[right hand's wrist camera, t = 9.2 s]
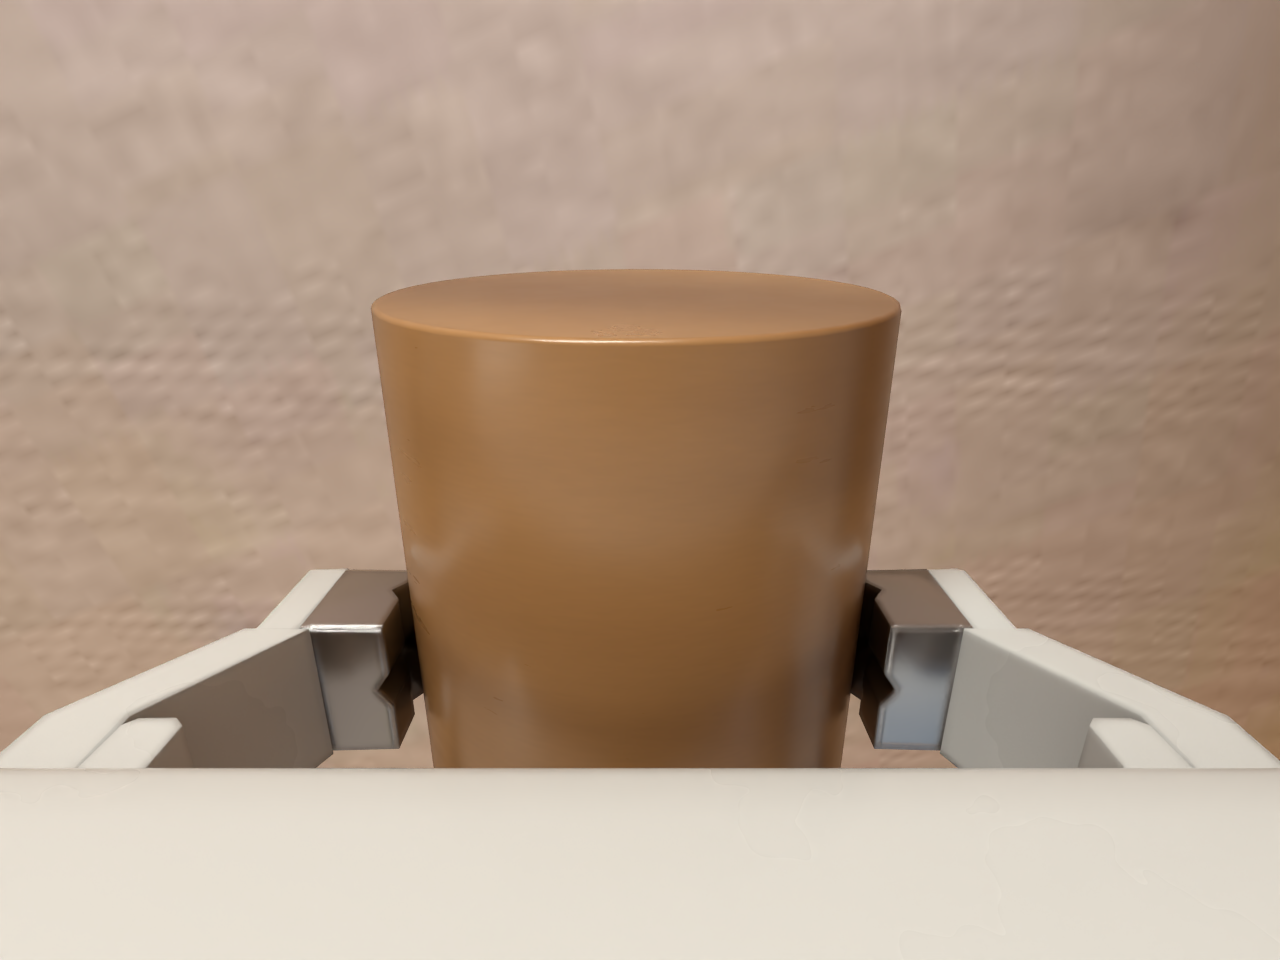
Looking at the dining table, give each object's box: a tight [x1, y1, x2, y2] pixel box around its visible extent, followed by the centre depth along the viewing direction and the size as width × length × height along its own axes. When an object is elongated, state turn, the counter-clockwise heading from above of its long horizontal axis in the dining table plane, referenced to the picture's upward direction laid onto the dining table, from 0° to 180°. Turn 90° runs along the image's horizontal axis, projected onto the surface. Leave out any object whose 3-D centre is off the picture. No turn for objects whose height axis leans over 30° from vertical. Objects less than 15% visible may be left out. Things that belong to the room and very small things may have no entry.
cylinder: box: [371, 269, 901, 768], centre depth 13 cm, size 23×6×6 cm, turn 0°
